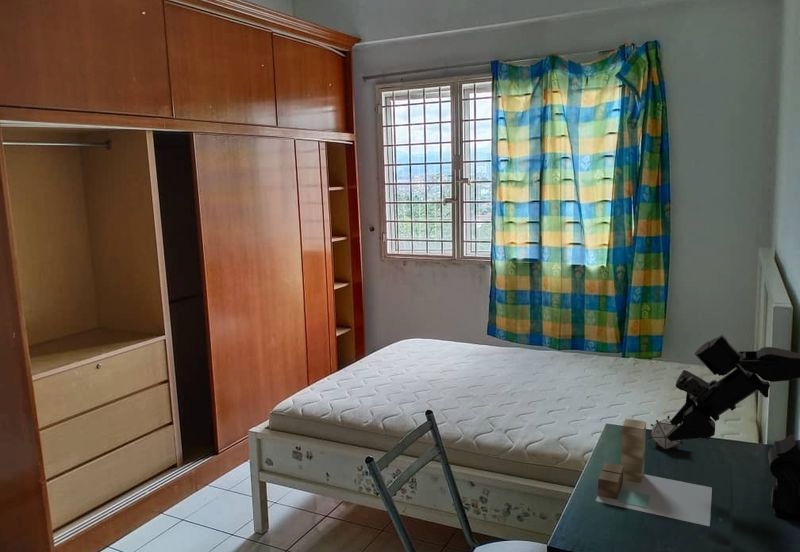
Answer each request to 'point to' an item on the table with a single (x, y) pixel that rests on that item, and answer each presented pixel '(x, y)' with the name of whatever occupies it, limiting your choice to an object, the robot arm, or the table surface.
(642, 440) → the pillar
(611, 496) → the cube
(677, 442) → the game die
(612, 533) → the table surface
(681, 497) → the board
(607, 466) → the cube
